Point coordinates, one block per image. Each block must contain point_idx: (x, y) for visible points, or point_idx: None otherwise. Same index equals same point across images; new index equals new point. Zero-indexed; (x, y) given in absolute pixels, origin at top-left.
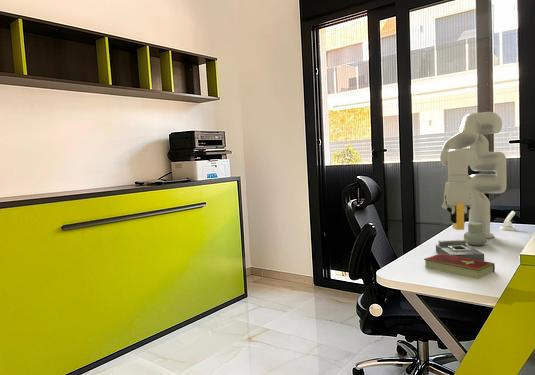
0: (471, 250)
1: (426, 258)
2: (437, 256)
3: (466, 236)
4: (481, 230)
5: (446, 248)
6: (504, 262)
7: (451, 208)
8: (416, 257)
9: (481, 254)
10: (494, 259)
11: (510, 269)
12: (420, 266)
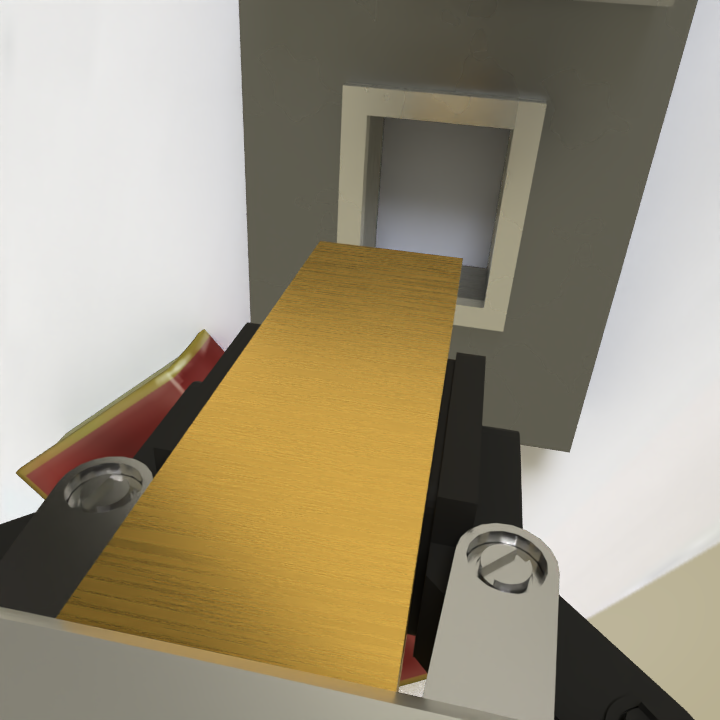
0: (536, 305)
1: (34, 468)
2: (122, 446)
3: None
4: None
5: (304, 145)
6: (709, 474)
7: (58, 604)
8: (18, 142)
9: (541, 445)
10: (704, 378)
11: (600, 604)
12: (36, 402)
